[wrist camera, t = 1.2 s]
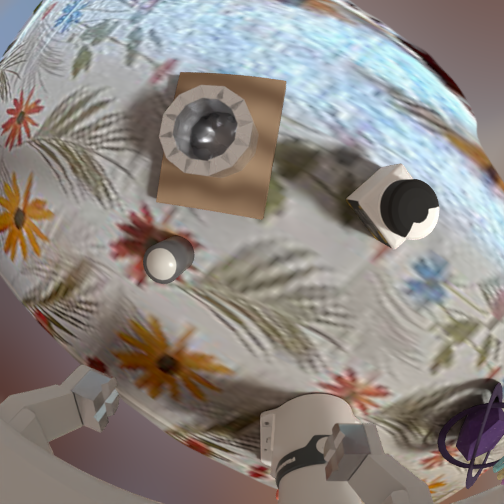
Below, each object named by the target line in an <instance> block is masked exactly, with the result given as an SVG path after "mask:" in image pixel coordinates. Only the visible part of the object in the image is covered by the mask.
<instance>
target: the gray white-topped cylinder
mask: <svg viewBox="0 0 504 504" xmlns="http://www.w3.org/2000/svg"><path fill="white" fill-rule="evenodd" d="M193 260H194V249H193V247H192V245H191V243H190V242H189V241H188V240H187V239H185V238H183V237H180V236H173V237H170V238H168V239H166V240H164V241H161V242H159V243H157V244H155V245H153V246H151V247H150V248H149V249H148V250H147V251H146V253H145V255H144V259H143V265H144V269H145V271H146V273H147V275H148V276H149V277H150V278H151V279H152V280H153V281H155V282H157V283H161V284H167V283H170V282H172V281H174V280H175V279H176V278H177V277H178V276H179V275H180V274H182V273H183V272H184V271H185V270H186V269H187V268H188V267H190V266H191V264H192V262H193Z"/></svg>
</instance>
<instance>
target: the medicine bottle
mask: <svg viewBox="0 0 504 504" xmlns="http://www.w3.org/2000/svg"><path fill="white" fill-rule="evenodd" d="M346 201H347V203H348V204H349V205H350V207H351V208H352V209H353V210H354V212H355V213H356V214H357V215H358V217H359V218H360V219H361V220H362V222H363V223H364V224H365V226H366V227H367V228H368V229H369V231H370V232H371V233H372V235H373V236H374V237H375V239H377V240H378V241H380V242H382V243H384V244H385V245H387V246H389V247H390V248H392V249H396V248H397V247H398V246H400V245H401V244H402V243H403V242H404V241H405V240H406V239H410V240H418V239H421V238H424V237H425V236H427V235H428V234H429V233H430V232H431V231H432V230H433V229H434V227H435V225H436V223H437V220H438V216H439V203H438V199H437V196H436V194H435V192H434V191H433V189H432V188H431V187H430V186H429V185H428V184H427V183H425V182H423V181H421V180H417V179H413V178H412V177H411V175H410V174H409V172H408V171H407V170H406V168H405V167H404V166H403V165H402V164H396V165H390V166H385V167H381V168H380V169H379V170H378V171H377V172H375V173H374V174H373V175H372V176H371V177H370V178H369V179H368V180H366V181H365V182H364V183H363V184H362V185H361V186H360V187H359V188H357V189H356V190H355V191H354V192H353V193H352V194H351V195H350V196H348V197H347V198H346Z"/></svg>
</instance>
